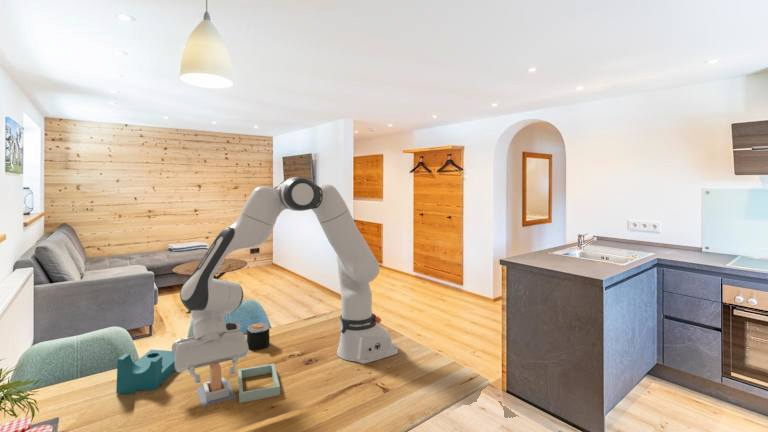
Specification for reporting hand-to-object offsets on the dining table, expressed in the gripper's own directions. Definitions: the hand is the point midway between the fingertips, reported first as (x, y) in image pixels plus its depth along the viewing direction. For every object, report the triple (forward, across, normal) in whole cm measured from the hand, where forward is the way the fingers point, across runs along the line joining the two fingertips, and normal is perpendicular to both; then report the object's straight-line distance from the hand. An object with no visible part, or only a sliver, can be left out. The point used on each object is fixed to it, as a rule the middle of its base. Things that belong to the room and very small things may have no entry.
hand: (215, 378), depth 110 cm
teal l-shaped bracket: (-11, -16, +20) cm, 27 cm away
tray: (+5, +11, +3) cm, 13 cm away
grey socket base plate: (+4, 0, +4) cm, 6 cm away
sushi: (-16, +19, +24) cm, 35 cm away
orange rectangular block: (+3, 0, +4) cm, 5 cm away
